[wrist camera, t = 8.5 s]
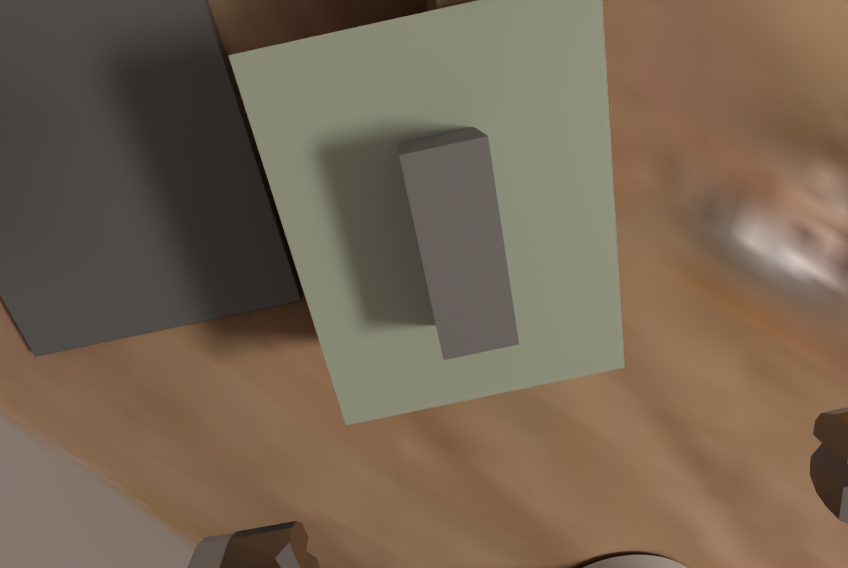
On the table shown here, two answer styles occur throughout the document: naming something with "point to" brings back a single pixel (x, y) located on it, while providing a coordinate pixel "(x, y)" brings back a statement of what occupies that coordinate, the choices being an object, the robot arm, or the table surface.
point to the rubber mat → (127, 175)
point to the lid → (447, 198)
